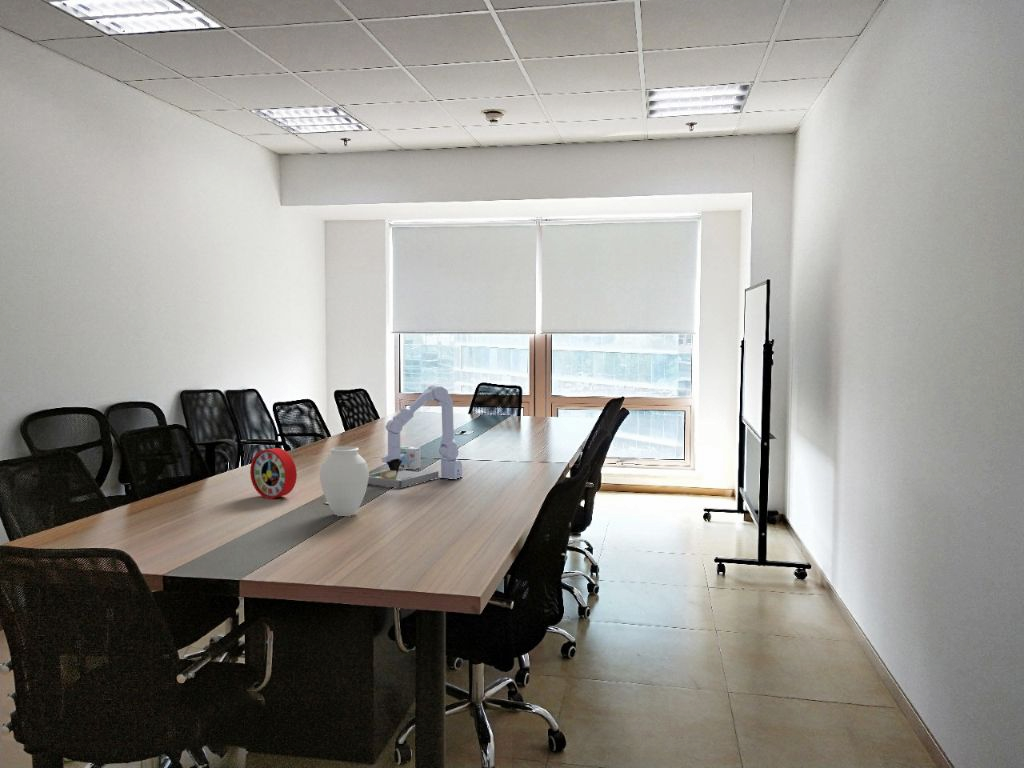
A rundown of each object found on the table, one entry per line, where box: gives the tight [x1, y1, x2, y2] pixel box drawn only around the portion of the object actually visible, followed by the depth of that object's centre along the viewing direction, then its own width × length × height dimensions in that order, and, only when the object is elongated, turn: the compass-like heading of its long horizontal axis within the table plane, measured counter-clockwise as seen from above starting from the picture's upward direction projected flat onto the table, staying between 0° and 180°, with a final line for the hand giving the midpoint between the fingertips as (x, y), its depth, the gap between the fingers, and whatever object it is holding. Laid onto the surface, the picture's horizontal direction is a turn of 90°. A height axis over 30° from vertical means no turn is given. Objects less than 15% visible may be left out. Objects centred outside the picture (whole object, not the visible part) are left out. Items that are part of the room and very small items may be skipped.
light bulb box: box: [399, 445, 421, 469], centre depth 385 cm, size 11×7×11 cm, turn 73°
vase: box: [319, 445, 370, 517], centre depth 286 cm, size 18×18×25 cm
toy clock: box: [249, 447, 298, 499], centre depth 316 cm, size 20×6×20 cm, turn 62°
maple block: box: [379, 469, 396, 480], centre depth 345 cm, size 5×5×4 cm
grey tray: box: [367, 467, 439, 489], centre depth 352 cm, size 22×28×4 cm
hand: (394, 476), depth 348 cm, fingers closed
